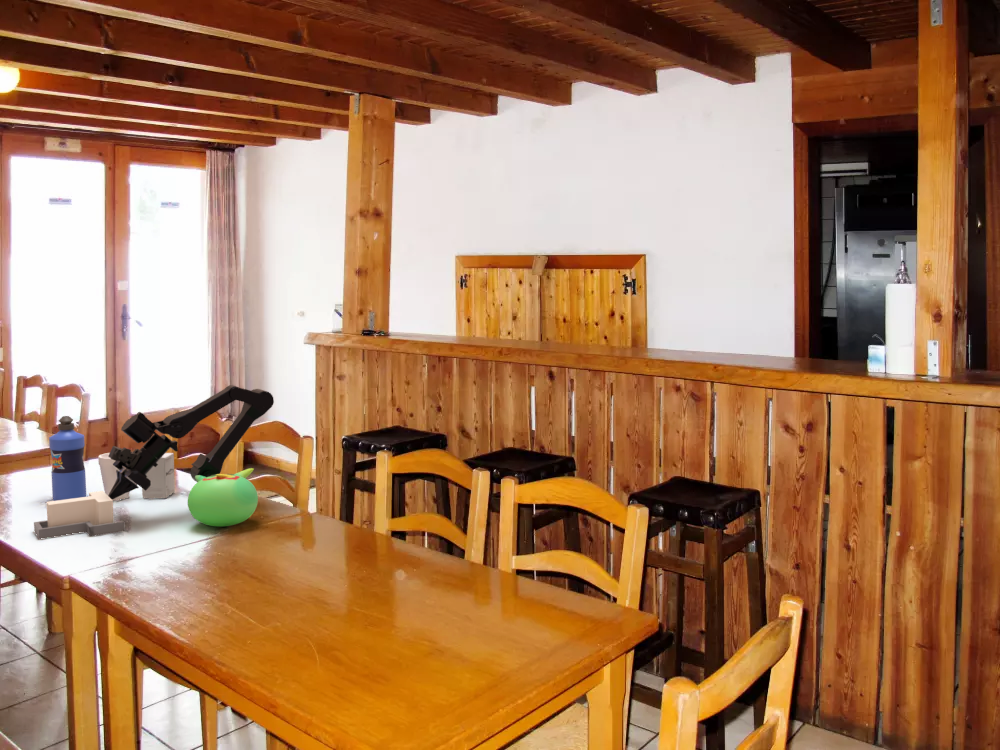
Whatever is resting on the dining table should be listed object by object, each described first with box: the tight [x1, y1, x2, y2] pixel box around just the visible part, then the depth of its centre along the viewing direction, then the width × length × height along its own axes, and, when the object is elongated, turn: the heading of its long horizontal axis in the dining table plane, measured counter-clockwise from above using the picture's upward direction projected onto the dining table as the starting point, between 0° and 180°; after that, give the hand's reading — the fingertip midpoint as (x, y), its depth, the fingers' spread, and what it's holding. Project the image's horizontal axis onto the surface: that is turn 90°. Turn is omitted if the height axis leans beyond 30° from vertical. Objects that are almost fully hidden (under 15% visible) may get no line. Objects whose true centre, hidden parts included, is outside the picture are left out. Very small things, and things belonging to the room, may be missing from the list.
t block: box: [45, 490, 115, 527], centre depth 231 cm, size 14×12×8 cm
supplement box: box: [141, 452, 176, 499], centre depth 266 cm, size 7×7×13 cm
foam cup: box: [97, 452, 131, 501], centre depth 263 cm, size 10×9×13 cm
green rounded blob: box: [187, 467, 259, 528], centre depth 236 cm, size 18×17×15 cm
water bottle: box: [48, 415, 87, 501], centre depth 259 cm, size 9×9×25 cm
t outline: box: [33, 520, 126, 540], centre depth 231 cm, size 20×17×2 cm
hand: (109, 498), depth 235 cm, fingers closed, pressing on t block
